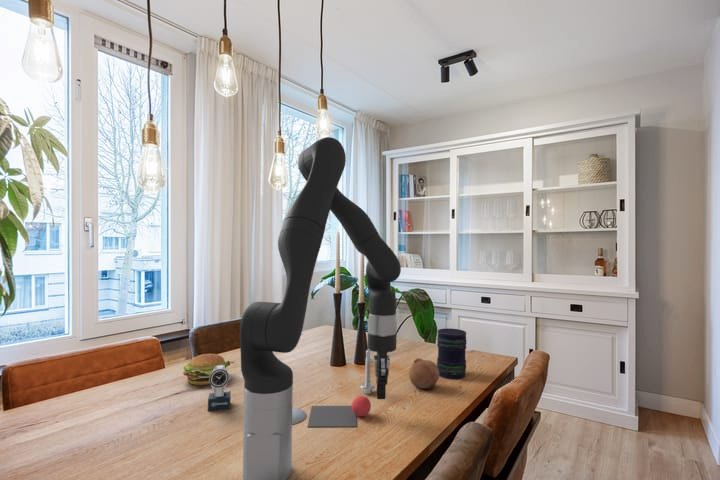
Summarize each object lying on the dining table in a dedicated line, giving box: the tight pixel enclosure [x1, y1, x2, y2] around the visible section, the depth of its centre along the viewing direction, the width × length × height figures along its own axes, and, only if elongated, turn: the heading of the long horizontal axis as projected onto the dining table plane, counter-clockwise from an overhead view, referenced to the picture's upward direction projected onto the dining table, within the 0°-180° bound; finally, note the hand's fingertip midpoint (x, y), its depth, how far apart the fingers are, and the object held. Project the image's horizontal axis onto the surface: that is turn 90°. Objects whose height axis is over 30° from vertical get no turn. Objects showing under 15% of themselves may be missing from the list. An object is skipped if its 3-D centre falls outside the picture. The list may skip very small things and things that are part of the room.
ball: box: [351, 395, 372, 417], centre depth 102 cm, size 5×5×5 cm
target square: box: [307, 405, 358, 428], centre depth 101 cm, size 12×12×1 cm
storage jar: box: [436, 328, 467, 381], centre depth 135 cm, size 10×10×15 cm
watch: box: [207, 365, 232, 412], centre depth 106 cm, size 6×8×11 cm
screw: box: [359, 349, 377, 395], centre depth 118 cm, size 13×5×5 cm
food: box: [183, 353, 231, 386], centre depth 127 cm, size 14×14×8 cm
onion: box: [408, 357, 440, 390], centre depth 122 cm, size 10×9×10 cm
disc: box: [292, 407, 307, 425], centre depth 101 cm, size 10×10×1 cm
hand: (380, 398), depth 101 cm, fingers closed
